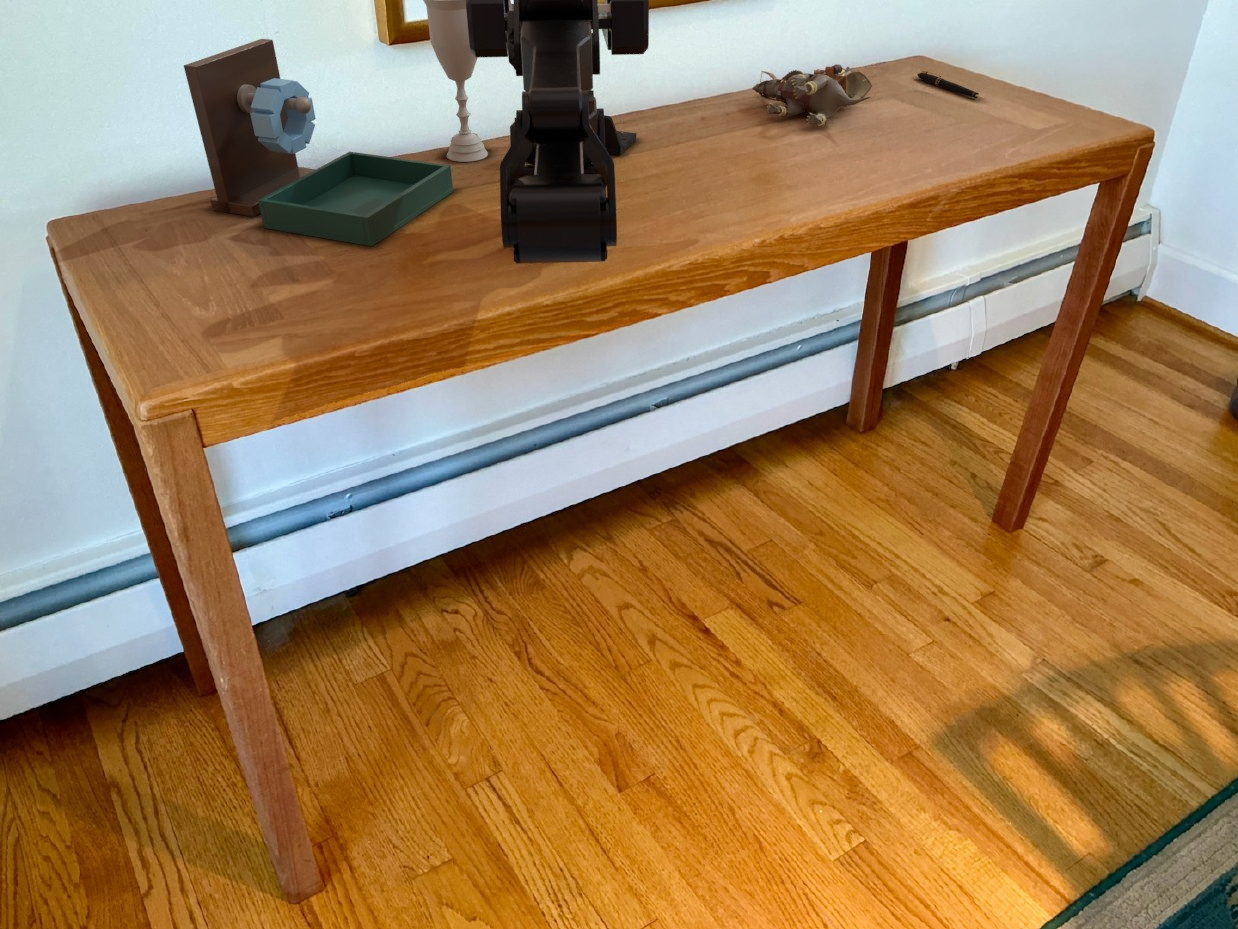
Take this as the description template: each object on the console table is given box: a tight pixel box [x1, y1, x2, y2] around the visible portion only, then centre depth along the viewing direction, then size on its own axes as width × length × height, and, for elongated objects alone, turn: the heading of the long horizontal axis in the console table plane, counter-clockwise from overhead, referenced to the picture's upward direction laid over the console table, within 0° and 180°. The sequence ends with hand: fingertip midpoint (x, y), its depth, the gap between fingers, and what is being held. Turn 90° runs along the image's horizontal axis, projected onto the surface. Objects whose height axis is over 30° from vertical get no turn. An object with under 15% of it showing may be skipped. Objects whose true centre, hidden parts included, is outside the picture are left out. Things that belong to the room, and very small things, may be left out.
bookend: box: [604, 114, 637, 156], centre depth 121 cm, size 12×7×10 cm
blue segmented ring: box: [250, 78, 317, 154], centre depth 104 cm, size 2×7×7 cm, turn 158°
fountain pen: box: [917, 70, 985, 99], centre depth 142 cm, size 14×1×2 cm, turn 26°
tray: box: [258, 151, 454, 247], centre depth 106 cm, size 13×16×3 cm
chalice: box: [422, 0, 489, 163], centre depth 115 cm, size 7×7×18 cm
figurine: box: [751, 63, 873, 127], centre depth 133 cm, size 20×6×17 cm
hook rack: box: [183, 38, 317, 218], centre depth 105 cm, size 11×12×15 cm
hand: (559, 10), depth 110 cm, fingers open, 9 cm apart
